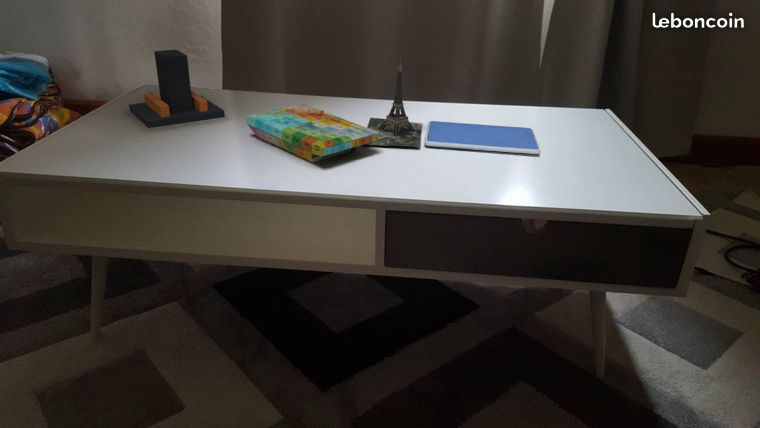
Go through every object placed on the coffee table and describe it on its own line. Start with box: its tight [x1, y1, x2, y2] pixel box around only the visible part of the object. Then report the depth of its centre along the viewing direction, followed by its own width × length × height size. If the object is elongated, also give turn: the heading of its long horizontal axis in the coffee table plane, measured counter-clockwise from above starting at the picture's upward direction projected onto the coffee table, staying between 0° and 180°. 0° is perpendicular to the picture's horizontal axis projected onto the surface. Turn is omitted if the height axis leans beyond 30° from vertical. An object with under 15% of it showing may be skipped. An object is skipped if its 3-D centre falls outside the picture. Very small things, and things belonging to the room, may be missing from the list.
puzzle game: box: [245, 103, 380, 163], centre depth 94 cm, size 12×5×20 cm
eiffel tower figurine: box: [362, 58, 423, 148], centre depth 99 cm, size 15×10×13 cm
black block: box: [153, 49, 193, 113], centre depth 105 cm, size 4×6×10 cm, turn 36°
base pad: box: [128, 89, 226, 129], centre depth 107 cm, size 14×12×3 cm
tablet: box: [423, 120, 541, 155], centre depth 100 cm, size 19×13×1 cm, turn 83°
